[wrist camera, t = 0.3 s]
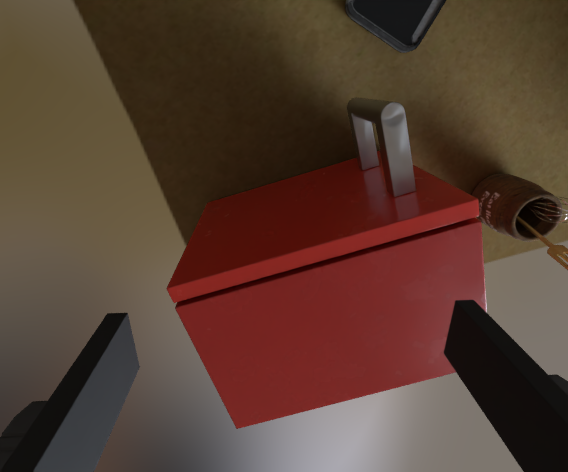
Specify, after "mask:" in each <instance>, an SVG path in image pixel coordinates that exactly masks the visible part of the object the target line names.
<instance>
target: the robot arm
mask: <svg viewBox="0 0 568 472" xmlns="http://www.w3.org/2000/svg"><path fill="white" fill-rule="evenodd" d="M444 355H445V356H446V358H447V359H448V361H449V362H450V364H451V365H452V367H453V368H454V369H455V371H456V372H457V374H458V375H459V377H460V378H461V380H462V381H463V383H464V384H465V386H466V387H467V389H468V390H469V392H470V393H471V395H472V396H473V397H474V399H475V400H476V402H477V403H478V405H479V406H480V408H481V409H482V411H483V412H484V413H485V415H486V417H487V418H488V420H489V421H490V423H491V424H492V425H493V427H494V429H495V430H496V431H497V433H498V434H499V436H500V437H501V439H502V440H503V442H504V443H505V445H506V446H507V448H508V449H509V451H510V452H511V454H512V455H513V456H514V458H515V459H516V461H517V462H518V464H519V465H520V467H521V468H522V470H523V471H524V472H568V381H566V380H565V379H563V378H562V377H560V376H559V375H548V374H546V372H545V371H544V370H543V369H542V368H541V367H540V366H539V365H538V364H537V363H536V362H535V361H534V360H533V359H532V358H531V357H530V356H529V355H528V354H527V353H526V352H525V351H524V350H523V349H522V348H521V347H520V346H519V345H518V344H517V343H516V342H515V341H514V340H513V339H512V338H511V337H510V336H509V335H508V334H507V333H506V332H505V331H504V330H503V329H502V328H501V327H500V326H499V325H498V324H497V323H496V322H495V321H494V320H493V319H492V318H491V317H490V316H489V315H488V314H487V313H486V312H485V311H484V310H483V309H482V308H481V307H480V306H479V305H478V304H477V303H476V302H475V301H474V300H455V304H454V309H453V313H452V318H451V322H450V326H449V331H448V335H447V340H446V344H445V348H444ZM139 367H140V366H139V362H138V357H137V353H136V349H135V344H134V339H133V335H132V331H131V326H130V322H129V317H128V313H109V314H107V315H106V316H105V318H104V319H103V321H102V322H101V324H100V325H99V327H98V328H97V330H96V331H95V333H94V334H93V335H92V337H91V338H90V340H89V341H88V343H87V344H86V346H85V347H84V349H83V350H82V352H81V353H80V355H79V356H78V358H77V359H76V361H75V362H74V363H73V365H72V366H71V368H70V369H69V371H68V372H67V374H66V375H65V376H64V378H63V379H62V381H61V383H60V384H59V385H58V387H57V388H56V390H55V391H54V393H53V394H52V396H51V397H50V398H49V400H48V401H36V402H32V403H31V404H29V405H28V406H27V407H26V408H24V409H23V410H22V411H21V412H20V413H19V414H17V415H16V416H15V417H14V418H13V420H12V421H11V422H10V424H9V425H8V426H7V428H6V429H5V430H4V432H3V433H2V436H1V437H0V472H94V470H95V468H96V465H97V463H98V461H99V459H100V457H101V454H102V452H103V449H104V447H105V445H106V443H107V441H108V438H109V436H110V434H111V431H112V429H113V426H114V425H115V422H116V420H117V418H118V415H119V413H120V411H121V409H122V406H123V404H124V402H125V399H126V397H127V395H128V393H129V390H130V388H131V386H132V383H133V381H134V379H135V377H136V374H137V372H138V370H139Z"/></svg>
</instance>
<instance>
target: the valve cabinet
mask: <svg viewBox="0 0 568 472" xmlns="http://www.w3.org/2000/svg"><path fill="white" fill-rule="evenodd" d="M455 300H474V301H475V302H476V303H477V304H478V305H479V306H480V307H481V308H482V309H483V310H484V311H485V312H486V313H487V309H486V292H485V276H484V260H483V244H482V228H481V221H480V220H478V219H477V218H475V217H474V218H471V219H467V220H464V221H460V222H457V223H453V224H450V225H446V226H443V227H439V228H436V229H432V230H429V231H425V232H422V233H418V234H415V235H411V236H408V237H404V238H401V239H397V240H394V241H390V242H386V243H383V244H379V245H376V246H372V247H369V248H365V249H362V250H358V251H355V252H351V253H348V254H344V255H341V256H337V257H334V258H330V259H327V260H323V261H320V262H316V263H313V264H309V265H306V266H302V267H299V268H295V269H292V270H288V271H285V272H281V273H278V274H274V275H271V276H267V277H264V278H260V279H257V280H253V281H250V282H246V283H243V284H239V285H235V286H232V287H228V288H225V289H221V290H218V291H214V292H211V293H207V294H204V295H200V296H197V297H193V298H190V299H186V300H183V301H179V302H177V304H176V307H175V309H176V311H177V313H178V315H179V317H180V319H181V321H182V323H183V325H184V327H185V329H186V331H187V332H188V334H189V336H190V338H191V340H192V342H193V344H194V346H195V348H196V350H197V352H198V354H199V356H200V358H201V360H202V362H203V364H204V366H205V367H206V370H207V372H208V374H209V376H210V378H211V379H212V381H213V383H214V385H215V387H216V389H217V391H218V393H219V395H220V397H221V399H222V401H223V403H224V405H225V406H226V409H227V411H228V413H229V415H230V417H231V419H232V421H233V422H234V424H235V426H236V428H237V429H238V428H242V427H246V426H249V425H253V424H258V423H262V422H265V421H269V420H273V419H277V418H281V417H284V416H289V415H293V414H296V413H300V412H304V411H308V410H312V409H315V408H320V407H323V406H327V405H331V404H335V403H339V402H343V401H347V400H351V399H355V398H359V397H362V396H366V395H370V394H374V393H378V392H381V391H386V390H390V389H393V388H397V387H401V386H405V385H409V384H412V383H417V382H420V381H424V380H428V379H432V378H436V377H440V376H444V375H447V374H451V373H455V372H456V371H455V369H454V368H453V367H452V365H451V364H450V362H449V361H448V359H447V358H446V356H445V355H444V348H445V344H446V340H447V335H448V331H449V326H450V322H451V318H452V313H453V309H454V304H455Z"/></svg>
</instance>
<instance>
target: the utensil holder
mask: <svg viewBox="0 0 568 472" xmlns="http://www.w3.org/2000/svg"><path fill="white" fill-rule="evenodd" d="M472 196H474V197H476V198H478V203H479V216H478V217H476V218H477V219H478V220H480V221H481V222H483V223H484V224H486V225H487V226H489V227H490V228H492V229H494V230H495V231H497V232H499V233H501V234H504V235H507V236H512V237H513V238H515V239H518V240H522V241H527V242H530V241H536V240H539V239H540V240H541V241H542V242H544V243H545V244H546V245H547V246H548V247H550V248H549V249H548V251H547V253H548V254H549V255H550V256H551V257H552V258H554V259H555V260H556V261H557V262H559V263H560V264H561V265H562V266H563V267H565V268H566V269H567V270H568V265H567V264H566V263H565V262H564V261H563V260H561V259H560V258H559V257H558V256H561V257H562V258H563V259H565V260H566V261H567V262H568V257H567V256H566V255H565V254H568V249H567V248H566V247H565V246H563V245H553V244H552V243H551V242H549V241H548V240H547V239H546V238H544V237H545V236H547V235H548V234H550V233H551V232H552V231H553V230H554V229H555V228H556V226H557V225H558V223H559V222H562V221H560V219H561V216H562V205H561V203H560V201H559V200H558V199H559V198H557V197H555V196H554V195H553V194H551V193H549V192H547V191H545V190H544V189H543V188H541V187H540V186H539V185H537V184H535V183H533V182H530V181H527V180H525V179H522V178H519V177H516V176H513V175H509V174H495V175H492V176H489V177H487V178H485V179H484V180H483V181H481V182H480V183H479V184H478V185H477V186H476V188H475V189H474V191H473V193H472ZM560 198H563V197H560ZM565 199H568V198H565ZM560 200H561V199H560ZM562 201H563V200H562ZM564 202H565V201H564ZM565 203H566V202H565ZM565 205H568V204H567V203H566V204H565ZM563 210H564V209H563ZM565 211H567V210H565ZM564 215H567V214H564ZM567 218H568V217H567ZM567 218H566V219H567ZM564 220H565V219H564ZM564 220H563V221H564ZM562 223H568V222H562Z"/></svg>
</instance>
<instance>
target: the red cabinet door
mask: <svg viewBox="0 0 568 472" xmlns="http://www.w3.org/2000/svg"><path fill="white" fill-rule="evenodd" d="M347 112H348V117H349V122H350V127H351V132H352V137H353V142H354V147H355V152H356V156H357V158H354V159H351V160H347V161H344V162H341V163H337V164H334V165H331V166H327V167H324V168H321V169H317V170H314V171H311V172H307V173H304V174H301V175H298V176H294V177H291V178H288V179H284V180H281V181H278V182H274V183H271V184H268V185H264V186H261V187H258V188H254V189H251V190H248V191H245V192H241V193H238V194H235V195H231V196H228V197H225V198H221V199H218V200H215V201H211V202H208V203H207V204H206V206H205V208H204V211H203V213H202V215H201V217H200V219H199V221H198V223H197V225H196V227H195V230H194V232H193V234H192V236H191V238H190V240H189V242H188V244H187V246H186V248H185V251H184V253H183V255H182V257H181V259H180V261H179V263H178V265H177V268H176V270H175V272H174V274H173V276H172V278H171V280H170V282H169V284H168V286H167V291H168V293H169V295H170V297H171V299H172V300H173V302H174V303H176V302H179V301H183V300H186V299H190V298H193V297H197V296H200V295H204V294H207V293H211V292H214V291H218V290H221V289H225V288H228V287H232V286H235V285H239V284H243V283H246V282H250V281H253V280H257V279H260V278H264V277H267V276H271V275H274V274H278V273H281V272H285V271H288V270H292V269H295V268H299V267H302V266H306V265H309V264H313V263H316V262H320V261H323V260H327V259H330V258H334V257H337V256H341V255H344V254H348V253H351V252H355V251H358V250H362V249H365V248H369V247H372V246H376V245H379V244H383V243H386V242H390V241H394V240H397V239H401V238H404V237H408V236H411V235H415V234H418V233H422V232H425V231H429V230H432V229H436V228H439V227H443V226H446V225H450V224H453V223H457V222H460V221H464V220H467V219H471V218H474V217H478V216H479V203H478V198H476V197H474V196H472V195H470V194H468V193H466V192H464V191H462V190H460V189H458V188H456V187H455V186H453V185H451V184H449V183H447V182H445V181H443V180H441V179H439V178H437V177H435V176H434V175H432V174H430V173H428V172H426V171H424V170H422V169H420V168H418V167H416V166H414V165H413V164H412V157H411V150H410V143H409V136H408V129H407V122H406V114H405V110H404V107H403V106H402V105H401V104H400V103H397V102H389V101H381V100H373V99H365V98H352V99H351V100H350V101H349V102H348V104H347ZM372 123H375V125H376V130H377V136H378V142H379V147H380V151H377V150H376V144H375V139H374V133H373V128H372Z"/></svg>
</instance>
